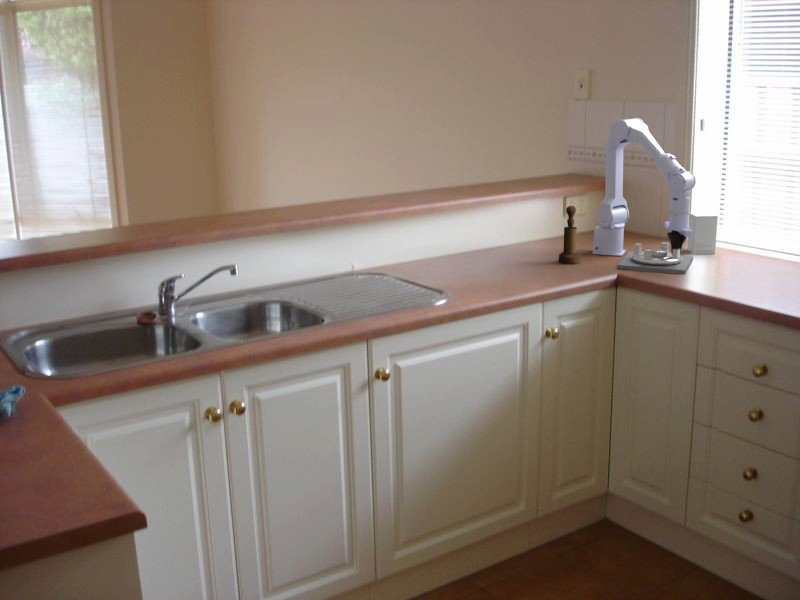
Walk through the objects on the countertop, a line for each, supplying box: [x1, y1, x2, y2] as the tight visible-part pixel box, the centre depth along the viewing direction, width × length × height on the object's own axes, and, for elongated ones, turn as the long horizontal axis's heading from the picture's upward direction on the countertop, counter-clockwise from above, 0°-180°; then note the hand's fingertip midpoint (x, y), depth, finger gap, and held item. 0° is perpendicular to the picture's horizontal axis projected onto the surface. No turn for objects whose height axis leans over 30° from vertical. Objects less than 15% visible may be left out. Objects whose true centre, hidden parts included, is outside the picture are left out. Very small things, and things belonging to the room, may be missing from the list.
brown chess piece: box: [558, 205, 581, 265], centre depth 297 cm, size 7×6×18 cm
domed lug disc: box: [632, 241, 682, 265], centre depth 294 cm, size 15×15×4 cm
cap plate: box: [617, 251, 694, 275], centre depth 295 cm, size 20×20×1 cm
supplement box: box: [686, 211, 719, 255], centre depth 310 cm, size 7×7×13 cm
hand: (676, 255), depth 292 cm, fingers closed, pressing on domed lug disc
